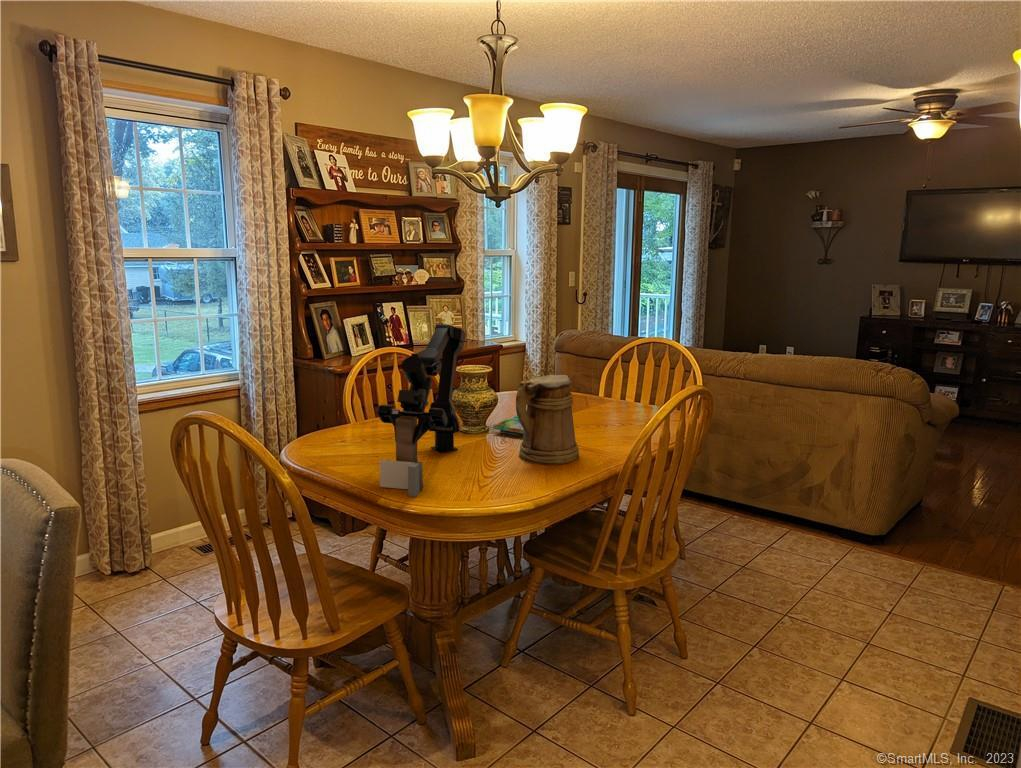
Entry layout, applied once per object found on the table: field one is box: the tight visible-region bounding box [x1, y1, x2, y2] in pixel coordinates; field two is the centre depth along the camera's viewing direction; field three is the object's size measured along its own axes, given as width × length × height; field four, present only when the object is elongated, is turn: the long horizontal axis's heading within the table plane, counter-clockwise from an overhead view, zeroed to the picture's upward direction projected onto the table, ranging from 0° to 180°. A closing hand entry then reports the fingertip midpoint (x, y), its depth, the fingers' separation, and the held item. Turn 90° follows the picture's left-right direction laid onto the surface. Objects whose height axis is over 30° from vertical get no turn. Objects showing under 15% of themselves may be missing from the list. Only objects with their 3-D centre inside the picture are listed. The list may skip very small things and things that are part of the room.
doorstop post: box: [395, 416, 419, 462], centre depth 189 cm, size 4×4×13 cm
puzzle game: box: [493, 414, 524, 437], centre depth 247 cm, size 12×5×20 cm
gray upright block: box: [407, 463, 421, 498], centre depth 181 cm, size 3×2×8 cm, turn 167°
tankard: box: [515, 374, 580, 466], centre depth 213 cm, size 18×24×25 cm
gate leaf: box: [379, 459, 424, 491], centre depth 186 cm, size 12×2×7 cm, turn 78°
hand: (404, 442), depth 188 cm, fingers closed on doorstop post, 4 cm apart
